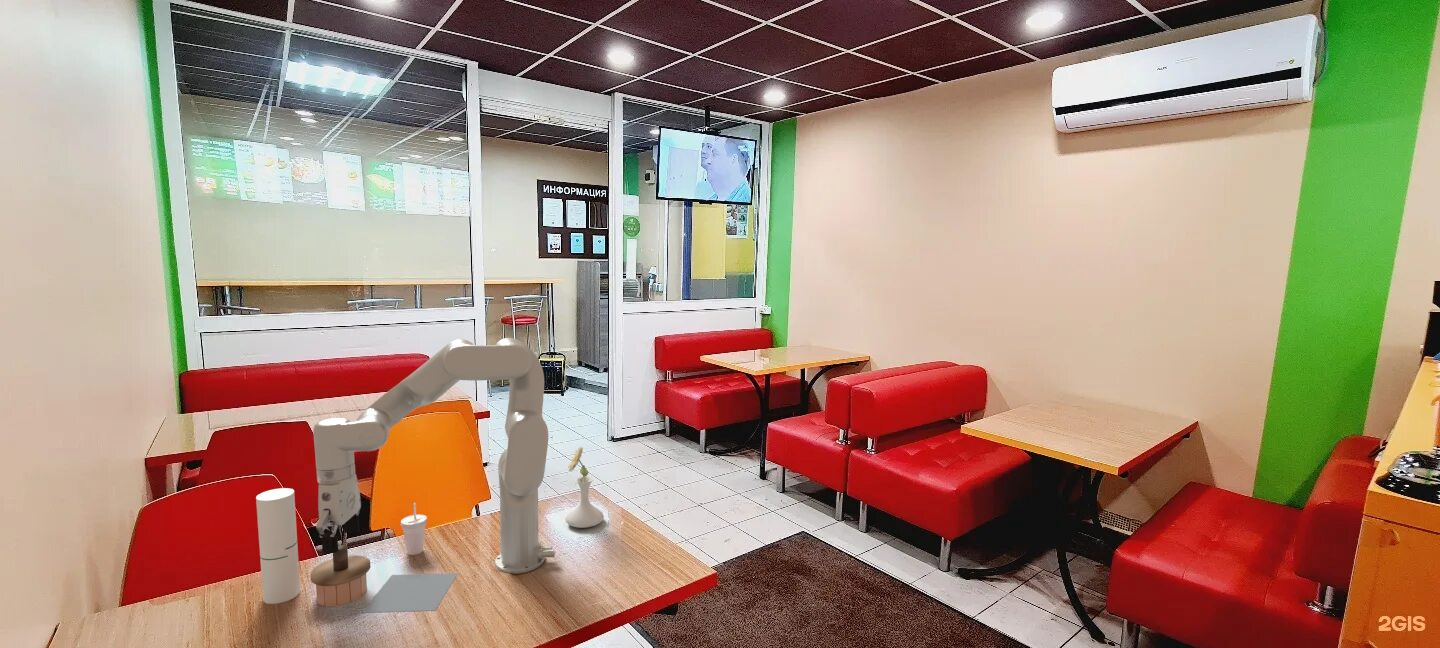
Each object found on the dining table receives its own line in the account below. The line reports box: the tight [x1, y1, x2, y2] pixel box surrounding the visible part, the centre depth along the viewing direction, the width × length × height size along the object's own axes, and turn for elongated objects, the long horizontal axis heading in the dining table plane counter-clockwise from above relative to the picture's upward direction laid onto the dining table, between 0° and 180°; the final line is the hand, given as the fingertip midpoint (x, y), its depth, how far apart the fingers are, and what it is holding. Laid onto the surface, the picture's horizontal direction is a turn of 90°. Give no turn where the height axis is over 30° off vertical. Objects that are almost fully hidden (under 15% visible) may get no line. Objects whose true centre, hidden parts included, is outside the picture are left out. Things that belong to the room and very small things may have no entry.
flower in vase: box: [565, 446, 605, 529], centre depth 185 cm, size 13×11×25 cm
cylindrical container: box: [255, 487, 301, 605], centre depth 144 cm, size 7×7×25 cm
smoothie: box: [400, 502, 428, 556], centre depth 165 cm, size 6×6×14 cm
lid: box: [310, 544, 371, 586], centre depth 144 cm, size 12×12×6 cm
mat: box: [361, 572, 459, 614], centre depth 147 cm, size 16×16×1 cm
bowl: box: [315, 573, 368, 607], centre depth 145 cm, size 10×10×6 cm
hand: (341, 541), depth 144 cm, fingers open, 9 cm apart
